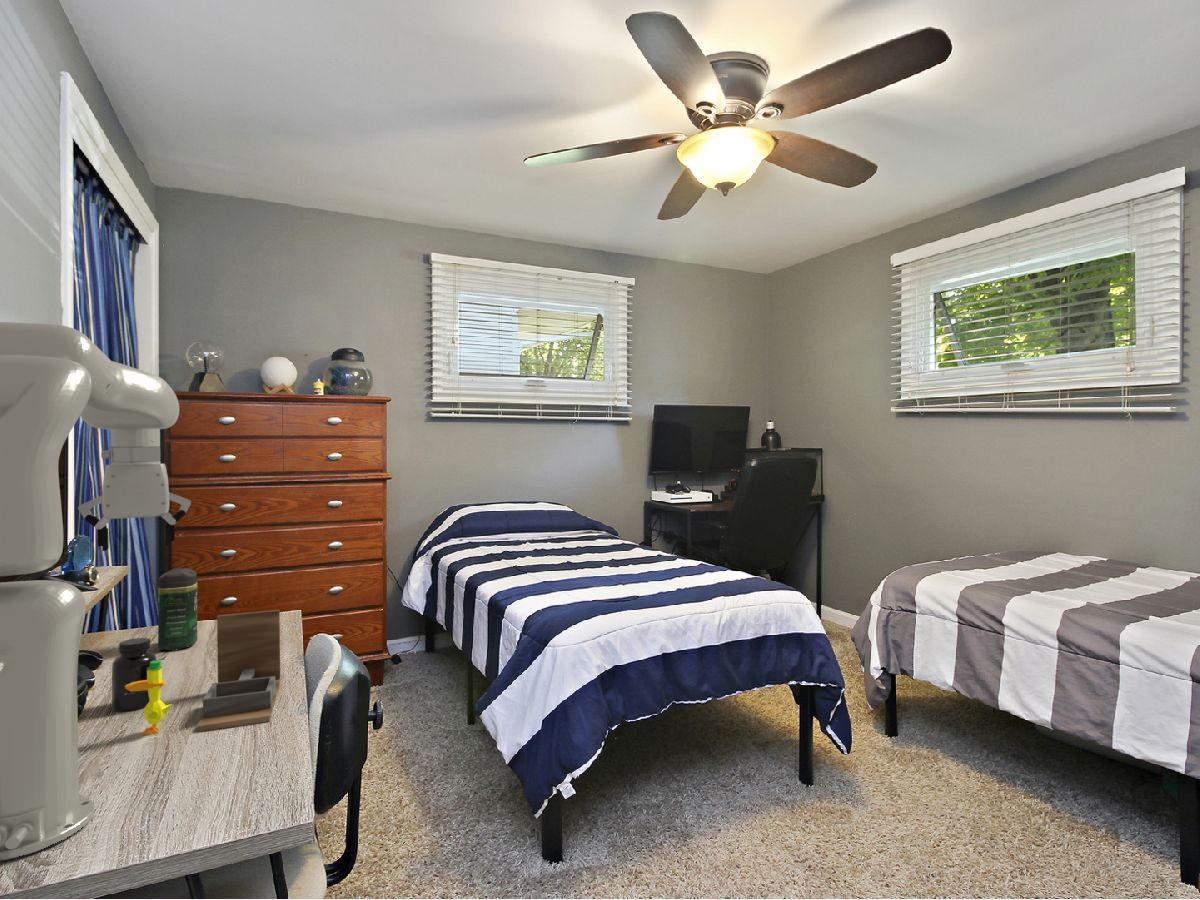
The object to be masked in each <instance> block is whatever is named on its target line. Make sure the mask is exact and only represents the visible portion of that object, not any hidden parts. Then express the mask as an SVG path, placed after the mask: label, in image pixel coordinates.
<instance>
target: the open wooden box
mask: <svg viewBox="0 0 1200 900" xmlns="http://www.w3.org/2000/svg"><path fill="white" fill-rule="evenodd" d="M280 611H281V610H280V609H271V610H261V611H249V612H248V611H247V612H238V613H229V614H227V613H226V614H218V615H216V624H217V626H216V629H217V630H216V631H217V632H216V633H217V638H216V639H217V641H216V642H217V643H216V644H217V682H213V683H212V684H211V685H210V687H209V689H208V691H207V692H206V693H205V696H204V697H203V699H202V716H201V719H200V720H199V722H198V724H197V725H196V726H197V728H196V729H197V733H200V732H199V731H201V732H206V731H205V730H207V731H213V729H214V730H219V728H221V729H226V728H225V727H228V728H234V727H233V726H235V727H239V726H247V725H255V724H260V723H261V722H262V723H267V721H269V722H270V721H271V717H272V715H273V710H274V708H273V707H275V703H276V700H277V697H278V693H279V689H280V686H281V619H280V618H281V617H280V616H281V615H280V613H281V612H280ZM271 714H272V715H271ZM230 726H231V727H230Z"/></svg>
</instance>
